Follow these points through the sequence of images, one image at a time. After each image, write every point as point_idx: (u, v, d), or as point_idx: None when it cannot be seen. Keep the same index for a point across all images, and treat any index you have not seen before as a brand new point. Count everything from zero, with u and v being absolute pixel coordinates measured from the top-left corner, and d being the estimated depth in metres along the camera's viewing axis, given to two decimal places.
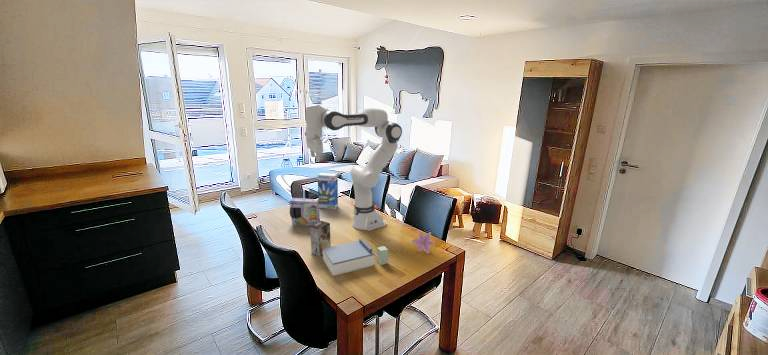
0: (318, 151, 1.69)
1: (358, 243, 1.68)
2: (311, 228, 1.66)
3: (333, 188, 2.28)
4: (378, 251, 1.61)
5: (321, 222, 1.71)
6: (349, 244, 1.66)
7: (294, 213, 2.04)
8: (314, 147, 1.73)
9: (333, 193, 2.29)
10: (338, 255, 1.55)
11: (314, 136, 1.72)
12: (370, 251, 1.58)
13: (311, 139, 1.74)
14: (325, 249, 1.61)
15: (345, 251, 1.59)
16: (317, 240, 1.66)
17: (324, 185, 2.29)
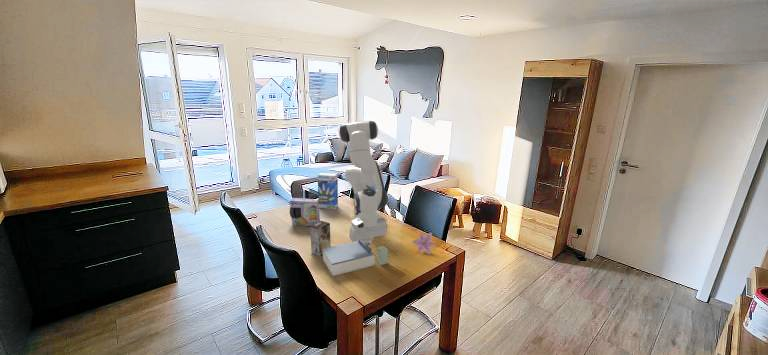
0: None
1: (357, 243, 1.67)
2: (311, 228, 1.66)
3: (333, 188, 2.28)
4: (378, 251, 1.61)
5: (321, 222, 1.71)
6: (348, 244, 1.66)
7: (294, 213, 2.04)
8: (378, 231, 1.63)
9: (333, 193, 2.29)
10: (337, 255, 1.55)
11: None
12: (369, 251, 1.58)
13: (374, 225, 1.61)
14: (324, 249, 1.60)
15: (344, 251, 1.59)
16: (317, 240, 1.66)
17: (325, 185, 2.29)
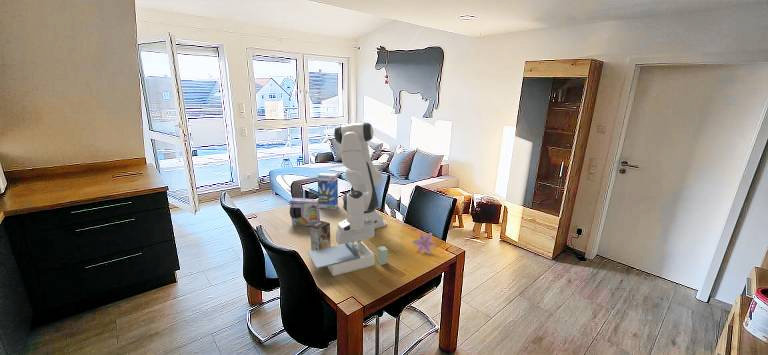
0: None
1: (344, 246, 1.64)
2: (311, 228, 1.66)
3: (333, 188, 2.28)
4: (378, 251, 1.61)
5: (321, 222, 1.71)
6: (335, 247, 1.63)
7: (294, 213, 2.04)
8: (365, 234, 1.60)
9: (333, 193, 2.29)
10: (323, 259, 1.52)
11: None
12: (356, 254, 1.55)
13: (361, 228, 1.57)
14: (310, 252, 1.57)
15: (330, 254, 1.56)
16: (317, 240, 1.66)
17: (324, 185, 2.29)
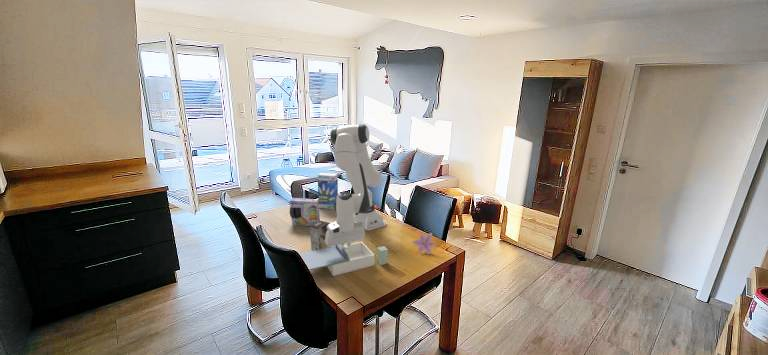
0: None
1: (334, 248, 1.62)
2: (311, 228, 1.66)
3: (333, 188, 2.28)
4: (378, 251, 1.61)
5: (321, 222, 1.71)
6: (325, 249, 1.60)
7: (294, 213, 2.04)
8: (356, 236, 1.58)
9: (333, 193, 2.29)
10: (311, 261, 1.49)
11: (354, 225, 1.56)
12: (345, 257, 1.52)
13: (351, 230, 1.55)
14: None
15: (319, 257, 1.53)
16: (317, 240, 1.66)
17: (325, 185, 2.29)
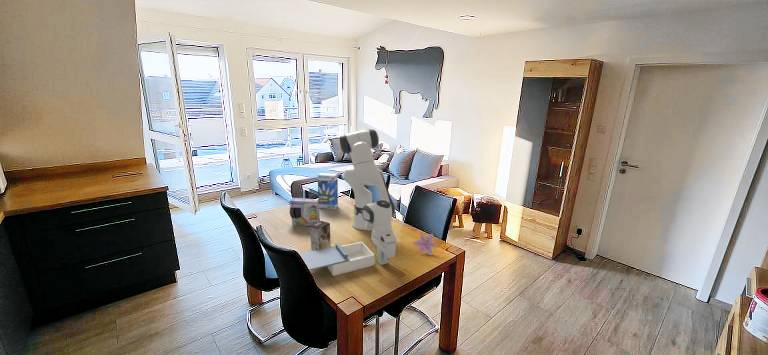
0: None
1: (334, 248, 1.62)
2: (311, 228, 1.66)
3: (333, 188, 2.28)
4: (378, 251, 1.61)
5: (321, 222, 1.71)
6: (325, 249, 1.60)
7: (294, 213, 2.04)
8: None
9: (333, 193, 2.29)
10: (311, 261, 1.49)
11: None
12: (345, 257, 1.52)
13: None
14: None
15: (319, 257, 1.53)
16: (317, 240, 1.66)
17: (324, 185, 2.29)
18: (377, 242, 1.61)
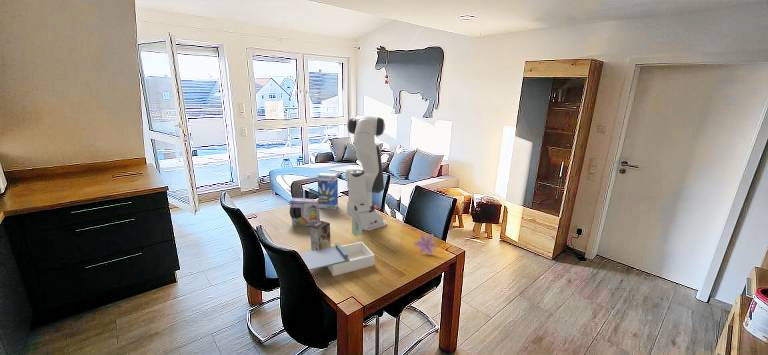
0: None
1: (334, 248, 1.62)
2: (311, 228, 1.66)
3: (333, 188, 2.28)
4: (353, 222, 1.58)
5: (321, 222, 1.71)
6: (325, 249, 1.60)
7: (294, 213, 2.04)
8: None
9: (333, 193, 2.29)
10: (311, 261, 1.49)
11: None
12: (345, 257, 1.52)
13: None
14: None
15: (319, 257, 1.53)
16: (317, 240, 1.66)
17: (324, 185, 2.29)
18: (352, 213, 1.58)
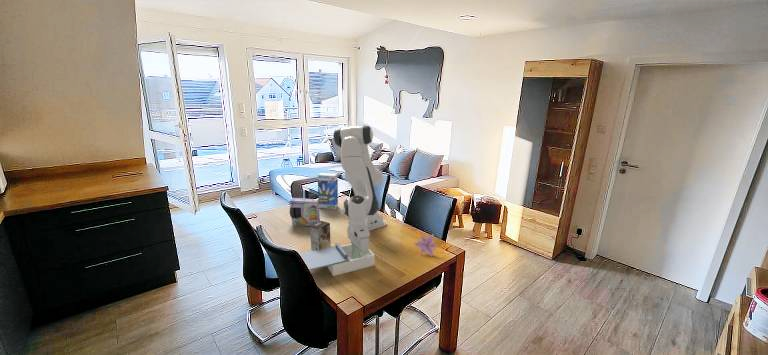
0: None
1: (334, 248, 1.62)
2: (311, 228, 1.66)
3: (333, 188, 2.28)
4: (353, 248, 1.62)
5: (321, 222, 1.71)
6: (325, 249, 1.60)
7: (294, 213, 2.04)
8: None
9: (333, 193, 2.29)
10: (311, 261, 1.49)
11: None
12: (345, 257, 1.52)
13: None
14: None
15: (319, 257, 1.53)
16: (317, 240, 1.66)
17: (325, 185, 2.29)
18: (352, 237, 1.62)
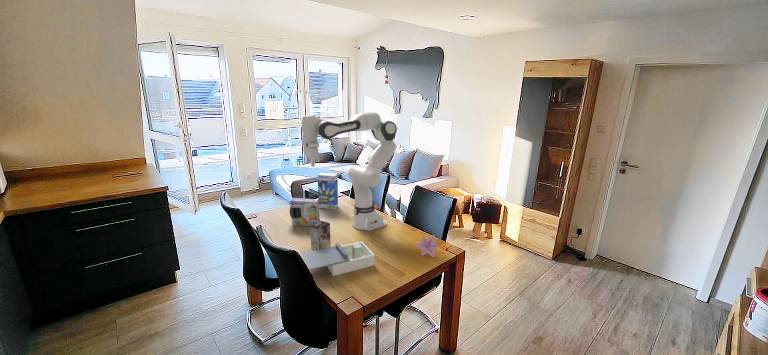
0: None
1: (334, 248, 1.62)
2: (311, 228, 1.66)
3: (333, 188, 2.28)
4: (353, 248, 1.62)
5: (321, 222, 1.71)
6: (325, 249, 1.60)
7: (294, 213, 2.04)
8: None
9: (333, 193, 2.29)
10: (311, 261, 1.49)
11: None
12: (345, 257, 1.52)
13: None
14: None
15: (319, 257, 1.53)
16: (317, 240, 1.66)
17: (324, 185, 2.29)
18: (306, 152, 1.91)
